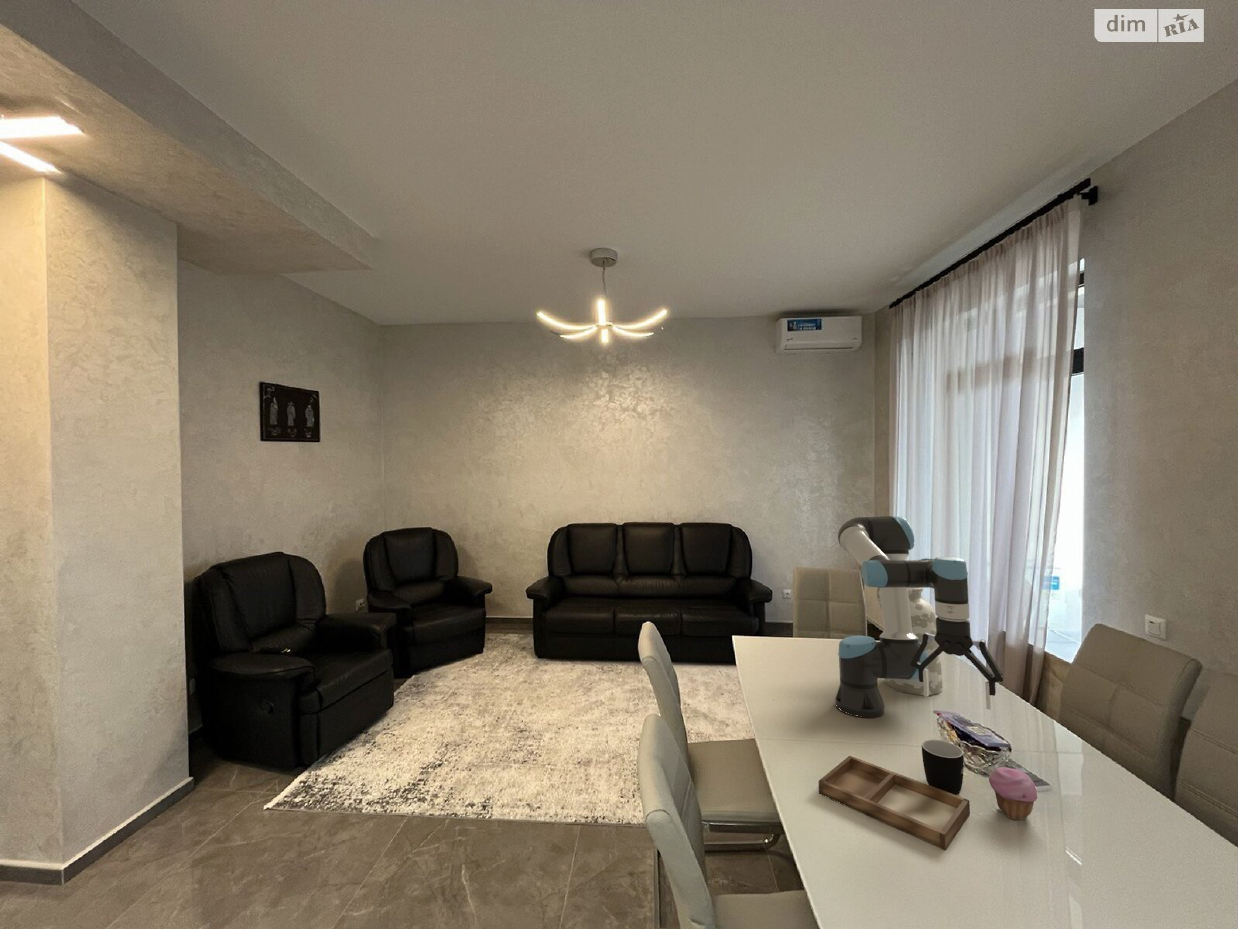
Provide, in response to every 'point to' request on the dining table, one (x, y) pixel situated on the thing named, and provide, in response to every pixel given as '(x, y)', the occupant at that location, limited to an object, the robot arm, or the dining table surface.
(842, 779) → the organizer box
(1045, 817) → the dining table surface
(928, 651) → the vase
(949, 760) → the mug
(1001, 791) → the cupcake
